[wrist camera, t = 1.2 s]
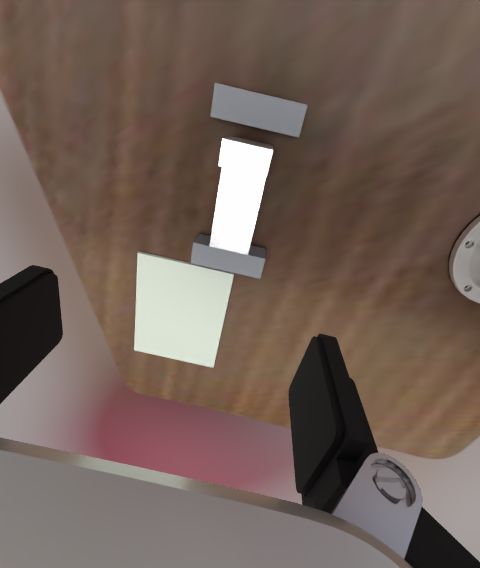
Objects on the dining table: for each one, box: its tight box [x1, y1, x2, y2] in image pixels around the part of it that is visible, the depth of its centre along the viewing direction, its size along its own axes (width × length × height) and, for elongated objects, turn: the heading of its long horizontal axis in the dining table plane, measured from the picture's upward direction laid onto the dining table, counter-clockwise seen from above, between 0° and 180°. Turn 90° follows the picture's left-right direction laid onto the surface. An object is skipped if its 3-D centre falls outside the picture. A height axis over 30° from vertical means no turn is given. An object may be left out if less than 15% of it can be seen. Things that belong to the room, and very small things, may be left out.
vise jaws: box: [191, 83, 308, 279], centre depth 30 cm, size 8×17×3 cm, turn 168°
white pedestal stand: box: [209, 136, 273, 255], centre depth 28 cm, size 4×10×8 cm, turn 169°
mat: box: [134, 251, 234, 367], centre depth 39 cm, size 12×16×1 cm
